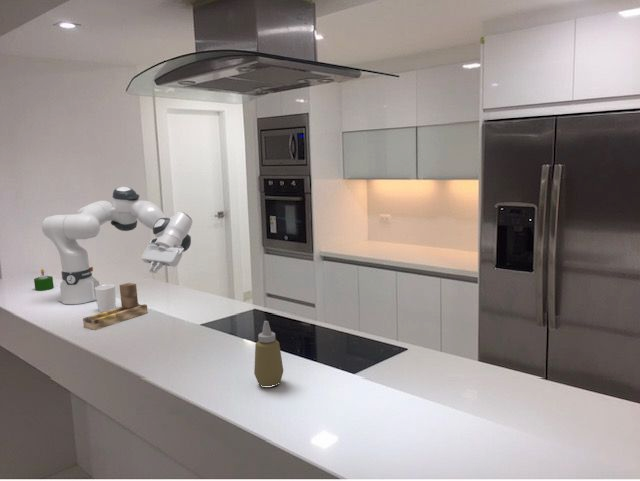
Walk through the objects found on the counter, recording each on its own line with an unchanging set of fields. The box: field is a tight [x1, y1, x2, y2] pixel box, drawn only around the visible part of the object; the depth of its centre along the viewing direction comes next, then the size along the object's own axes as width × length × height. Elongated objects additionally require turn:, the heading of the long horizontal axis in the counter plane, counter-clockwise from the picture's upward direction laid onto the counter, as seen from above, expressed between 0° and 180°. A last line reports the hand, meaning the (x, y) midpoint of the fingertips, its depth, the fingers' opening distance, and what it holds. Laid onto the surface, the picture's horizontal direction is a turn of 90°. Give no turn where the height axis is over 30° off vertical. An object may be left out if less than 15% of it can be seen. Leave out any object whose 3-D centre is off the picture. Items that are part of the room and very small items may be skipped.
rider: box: [119, 282, 139, 310], centre depth 219 cm, size 4×4×10 cm
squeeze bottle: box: [253, 320, 284, 386], centre depth 149 cm, size 8×8×18 cm
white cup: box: [95, 284, 117, 313], centre depth 229 cm, size 8×8×10 cm
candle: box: [33, 268, 55, 292], centre depth 270 cm, size 8×8×10 cm
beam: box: [82, 302, 149, 331], centre depth 215 cm, size 24×7×4 cm, turn 145°
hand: (152, 272), depth 227 cm, fingers closed
